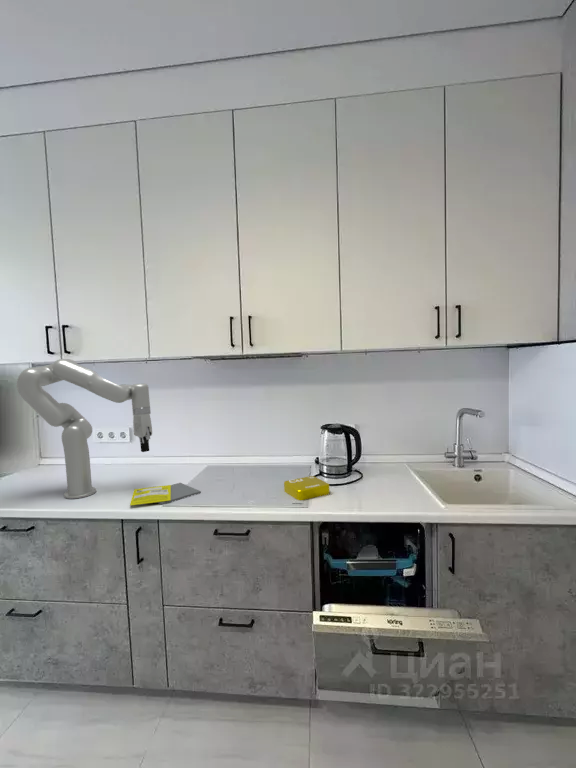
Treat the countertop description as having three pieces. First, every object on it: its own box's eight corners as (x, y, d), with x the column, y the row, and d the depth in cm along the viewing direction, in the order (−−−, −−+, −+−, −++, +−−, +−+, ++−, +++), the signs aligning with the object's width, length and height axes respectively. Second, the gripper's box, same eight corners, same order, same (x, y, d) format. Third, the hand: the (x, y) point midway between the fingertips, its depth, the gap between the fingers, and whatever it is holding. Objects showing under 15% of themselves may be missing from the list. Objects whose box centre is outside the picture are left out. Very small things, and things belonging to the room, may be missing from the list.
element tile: (299, 502, 157) (298, 490, 157) (282, 491, 171) (282, 480, 170) (331, 494, 164) (331, 483, 163) (313, 484, 177) (312, 474, 177)
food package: (134, 490, 176) (129, 506, 157) (134, 487, 176) (129, 503, 157) (170, 486, 180) (170, 501, 161) (170, 483, 180) (170, 498, 161)
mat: (142, 494, 173) (142, 493, 172) (180, 484, 185) (180, 482, 185) (161, 505, 159) (160, 503, 159) (200, 492, 172) (200, 491, 172)
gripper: (126, 411, 184) (130, 450, 185) (140, 413, 173) (144, 455, 174) (142, 409, 189) (146, 447, 190) (156, 411, 178) (160, 451, 179)
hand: (145, 451), depth 182 cm, fingers closed
